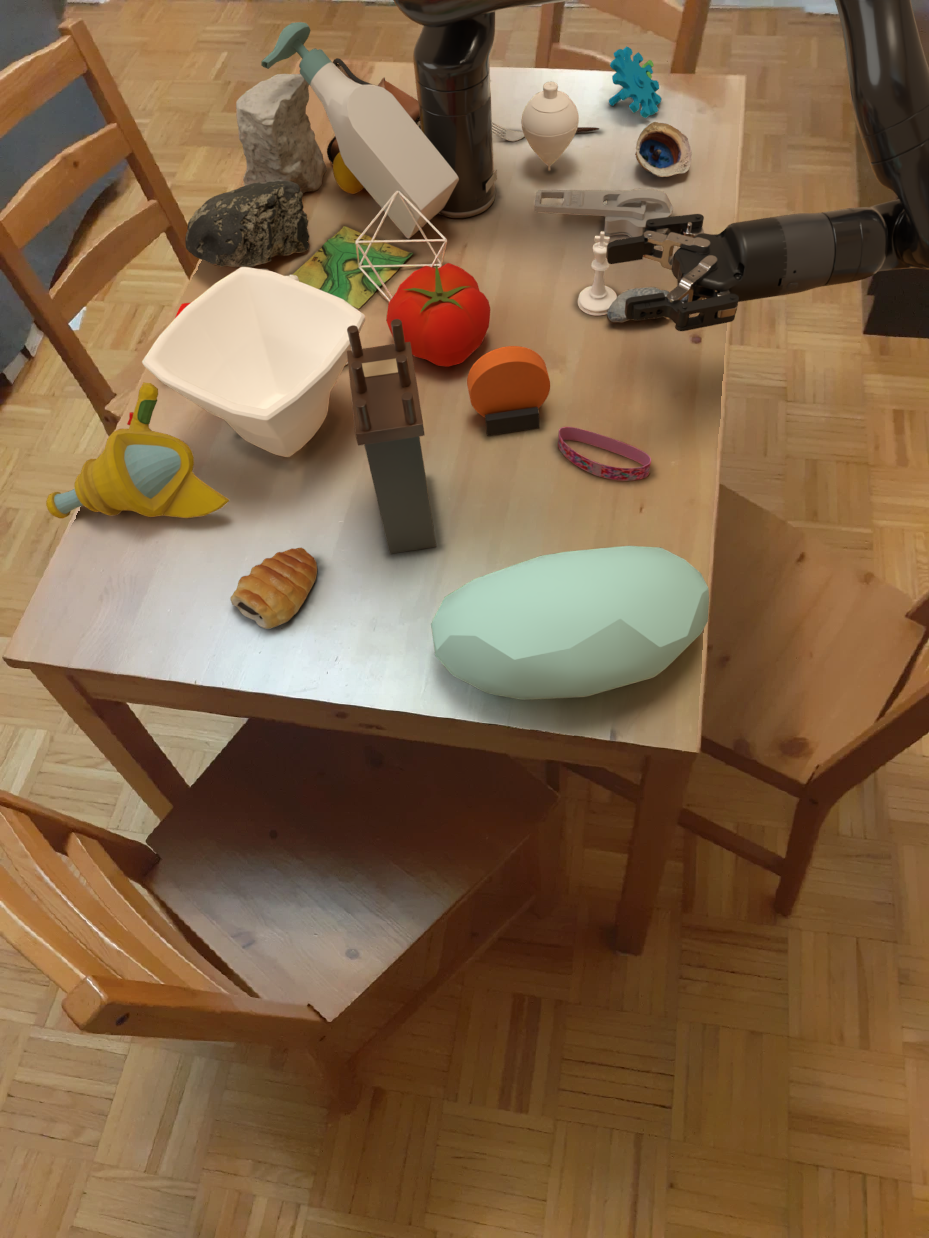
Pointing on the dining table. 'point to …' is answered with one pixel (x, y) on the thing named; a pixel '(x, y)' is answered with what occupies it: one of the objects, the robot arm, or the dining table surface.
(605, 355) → the dining table surface
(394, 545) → the stand block
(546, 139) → the spinning top
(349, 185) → the doorknob
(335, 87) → the soap bottle
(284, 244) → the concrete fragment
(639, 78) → the gear
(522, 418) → the black blocks
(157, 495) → the toy
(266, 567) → the pastry
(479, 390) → the disc
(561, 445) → the headband
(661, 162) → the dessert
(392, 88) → the sunglasses case
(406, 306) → the tomato
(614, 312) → the fossil
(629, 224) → the zipper pull
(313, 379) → the bowl
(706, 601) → the decorative stone
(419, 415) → the rack
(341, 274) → the terrain map
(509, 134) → the fork
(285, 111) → the decorative stone
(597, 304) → the chess piece
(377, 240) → the geometric polyhedron
